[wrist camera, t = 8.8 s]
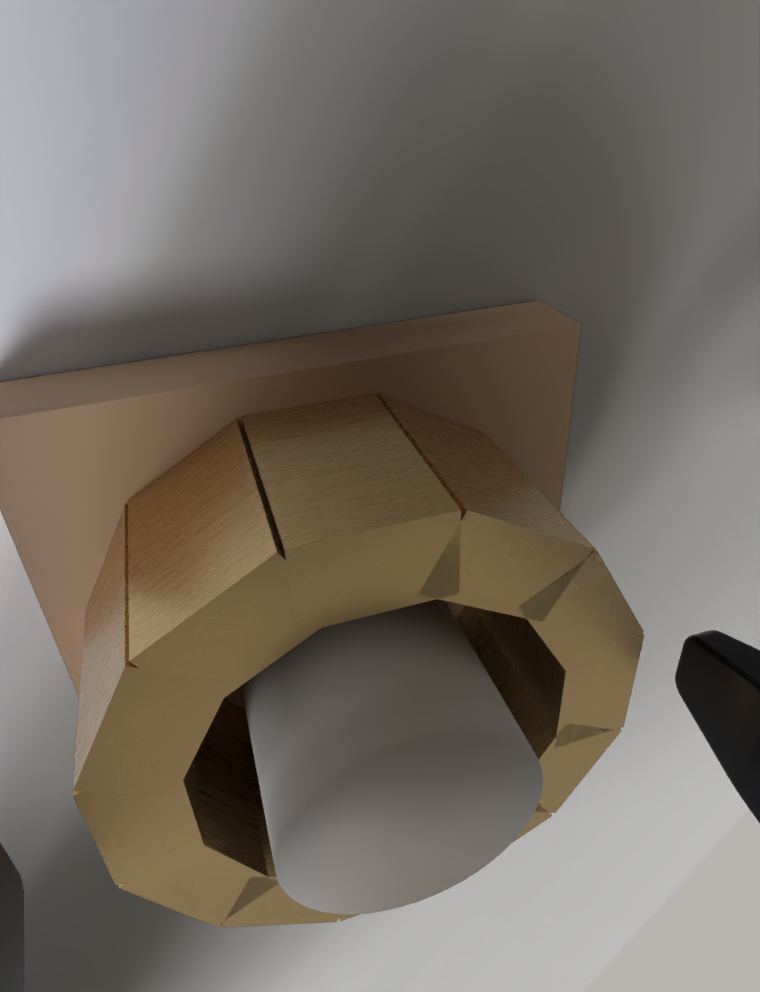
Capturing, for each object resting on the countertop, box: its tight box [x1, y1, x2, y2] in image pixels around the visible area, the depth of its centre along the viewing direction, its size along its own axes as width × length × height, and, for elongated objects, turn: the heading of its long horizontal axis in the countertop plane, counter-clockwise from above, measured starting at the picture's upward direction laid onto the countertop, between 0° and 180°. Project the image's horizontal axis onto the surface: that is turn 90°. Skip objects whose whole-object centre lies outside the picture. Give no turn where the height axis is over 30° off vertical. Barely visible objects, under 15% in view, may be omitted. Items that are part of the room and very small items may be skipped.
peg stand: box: [0, 300, 581, 914], centre depth 10 cm, size 8×8×5 cm
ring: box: [73, 393, 644, 927], centre depth 10 cm, size 7×7×3 cm
